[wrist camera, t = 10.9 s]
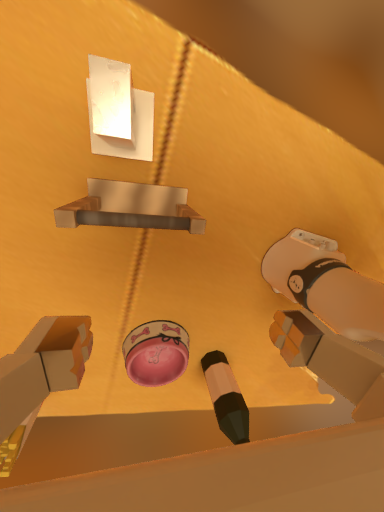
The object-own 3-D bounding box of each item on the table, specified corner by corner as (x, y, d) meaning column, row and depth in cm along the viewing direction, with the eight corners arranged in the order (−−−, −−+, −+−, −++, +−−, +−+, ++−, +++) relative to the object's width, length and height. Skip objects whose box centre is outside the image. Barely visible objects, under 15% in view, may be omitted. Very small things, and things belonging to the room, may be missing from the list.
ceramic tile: (154, 94, 31) (154, 93, 31) (152, 161, 35) (152, 161, 34) (87, 80, 29) (86, 77, 28) (93, 153, 33) (91, 153, 32)
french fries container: (31, 382, 49) (-25, 484, 33) (39, 352, 46) (-19, 448, 30) (51, 383, 51) (7, 482, 35) (60, 354, 48) (16, 447, 32)
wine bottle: (228, 350, 61) (293, 490, 34) (220, 368, 64) (274, 511, 37) (204, 350, 58) (253, 501, 31) (197, 369, 61) (237, 522, 34)
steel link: (136, 102, 31) (130, 64, 20) (135, 149, 33) (130, 139, 22) (109, 96, 30) (88, 53, 19) (111, 146, 32) (93, 132, 21)
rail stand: (186, 188, 38) (209, 197, 24) (183, 227, 41) (201, 254, 27) (88, 177, 34) (49, 181, 20) (92, 221, 37) (60, 251, 23)
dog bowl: (112, 362, 53) (107, 387, 47) (139, 311, 48) (138, 332, 42) (171, 372, 59) (174, 395, 53) (200, 328, 55) (206, 348, 49)
